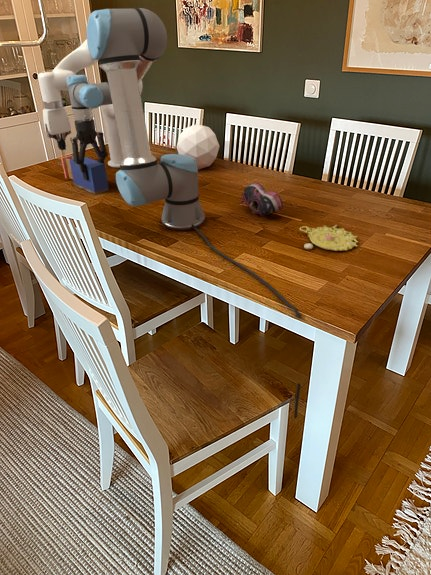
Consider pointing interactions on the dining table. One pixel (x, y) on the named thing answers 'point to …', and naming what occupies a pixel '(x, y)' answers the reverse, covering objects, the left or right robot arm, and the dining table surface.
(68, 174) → the drawer
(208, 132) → the sphere
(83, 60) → the left robot arm
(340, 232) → the decorative object
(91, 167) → the cabinet
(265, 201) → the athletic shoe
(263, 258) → the dining table surface
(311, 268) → the dining table surface
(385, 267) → the dining table surface
